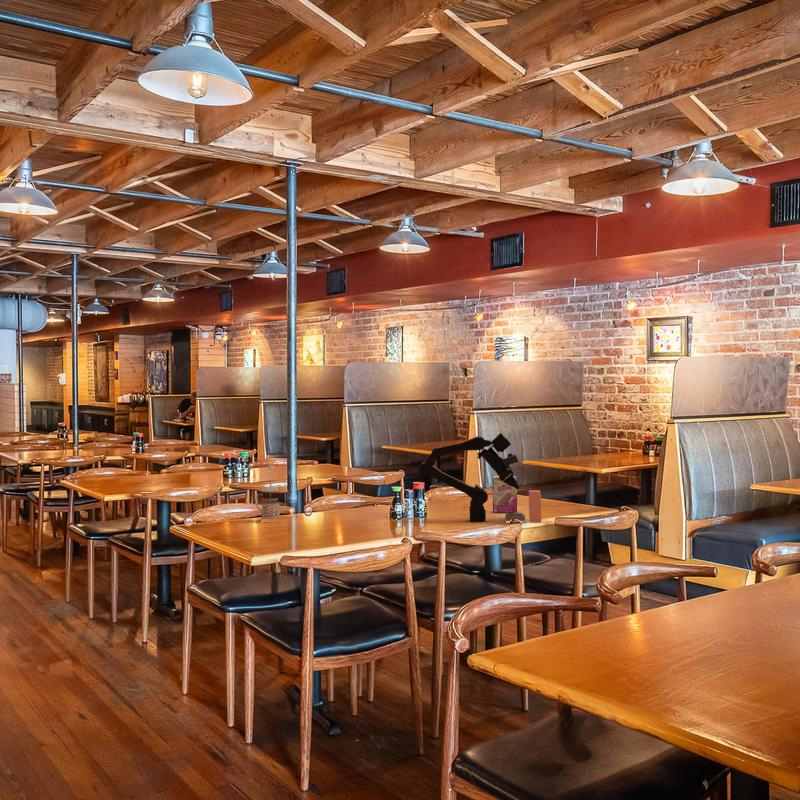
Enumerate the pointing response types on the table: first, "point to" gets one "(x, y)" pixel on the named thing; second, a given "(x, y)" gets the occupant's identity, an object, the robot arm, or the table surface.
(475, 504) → the robot arm
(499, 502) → the candy bar box
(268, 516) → the french press
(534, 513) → the column
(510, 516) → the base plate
